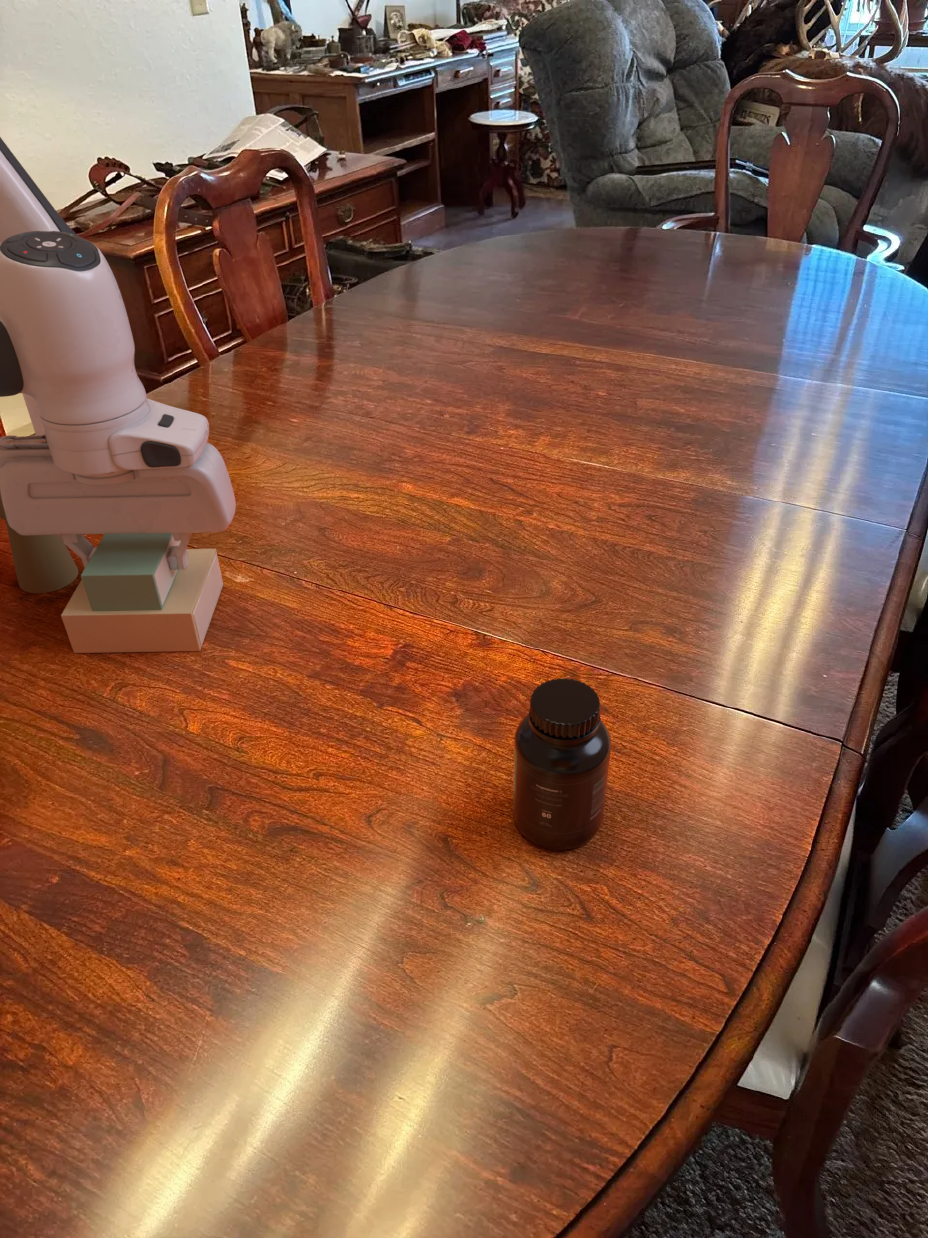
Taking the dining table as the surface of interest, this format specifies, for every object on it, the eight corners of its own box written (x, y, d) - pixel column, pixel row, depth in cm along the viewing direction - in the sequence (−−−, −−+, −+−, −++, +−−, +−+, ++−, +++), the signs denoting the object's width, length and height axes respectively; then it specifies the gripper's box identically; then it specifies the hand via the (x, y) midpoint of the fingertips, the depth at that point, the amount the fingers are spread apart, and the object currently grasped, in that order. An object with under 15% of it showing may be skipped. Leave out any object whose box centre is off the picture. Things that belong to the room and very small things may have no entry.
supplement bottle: (495, 827, 70) (496, 710, 62) (540, 771, 74) (546, 656, 67) (575, 868, 66) (586, 749, 59) (618, 807, 71) (632, 690, 64)
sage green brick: (91, 611, 85) (80, 575, 83) (123, 552, 93) (113, 518, 91) (162, 610, 85) (153, 574, 83) (187, 551, 93) (179, 516, 90)
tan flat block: (73, 653, 87) (60, 615, 85) (108, 586, 96) (97, 550, 93) (201, 651, 87) (192, 613, 84) (224, 584, 96) (216, 548, 93)
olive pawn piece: (90, 570, 98) (61, 479, 92) (44, 599, 94) (10, 506, 88) (52, 555, 101) (21, 465, 94) (6, 583, 97) (-30, 491, 90)
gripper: (-34, 453, 77) (17, 588, 86) (209, 448, 77) (237, 584, 85) (-4, 420, 82) (41, 551, 91) (225, 416, 82) (249, 547, 90)
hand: (138, 567), depth 88 cm, fingers closed on sage green brick, 7 cm apart
